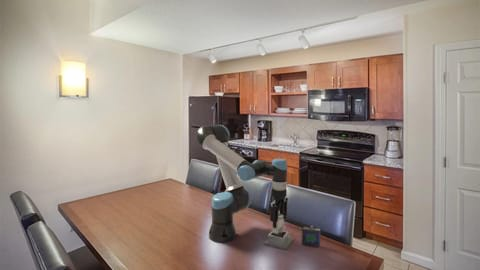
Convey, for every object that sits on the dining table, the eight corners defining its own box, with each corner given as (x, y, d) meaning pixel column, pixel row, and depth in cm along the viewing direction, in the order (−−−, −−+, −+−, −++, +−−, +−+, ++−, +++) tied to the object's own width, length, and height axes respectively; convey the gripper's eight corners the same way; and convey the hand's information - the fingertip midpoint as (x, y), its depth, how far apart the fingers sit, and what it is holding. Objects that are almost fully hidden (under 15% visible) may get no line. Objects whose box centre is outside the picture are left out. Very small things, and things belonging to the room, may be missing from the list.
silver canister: (279, 243, 136) (280, 217, 135) (271, 240, 140) (272, 214, 138) (284, 240, 140) (285, 214, 139) (277, 236, 143) (277, 212, 142)
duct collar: (263, 244, 137) (263, 235, 137) (271, 235, 148) (272, 226, 148) (285, 250, 132) (285, 241, 131) (292, 240, 142) (292, 231, 142)
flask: (319, 245, 137) (320, 225, 136) (320, 247, 134) (320, 227, 133) (301, 243, 139) (302, 223, 138) (301, 245, 136) (302, 226, 135)
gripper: (275, 194, 128) (274, 239, 130) (294, 186, 141) (293, 228, 143) (263, 190, 133) (262, 234, 136) (282, 183, 146) (282, 224, 148)
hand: (278, 231), depth 139 cm, fingers closed on silver canister, 5 cm apart
